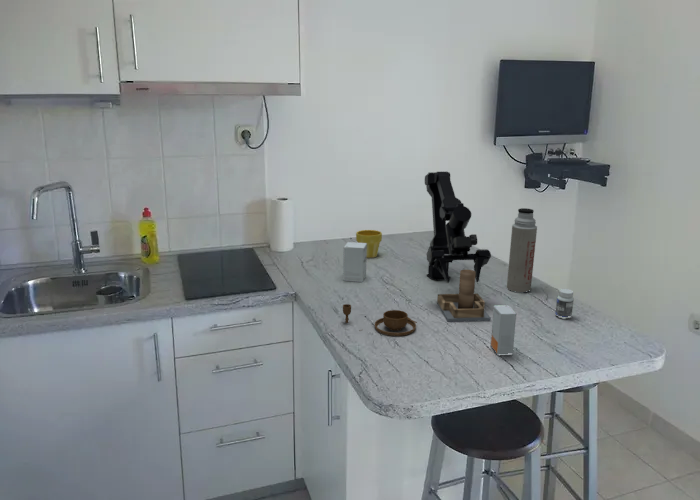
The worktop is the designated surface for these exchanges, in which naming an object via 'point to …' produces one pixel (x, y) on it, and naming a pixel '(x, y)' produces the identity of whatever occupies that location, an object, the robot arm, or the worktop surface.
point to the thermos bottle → (522, 251)
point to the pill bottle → (564, 303)
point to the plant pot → (370, 241)
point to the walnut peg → (466, 289)
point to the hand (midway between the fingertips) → (463, 282)
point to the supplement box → (354, 261)
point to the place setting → (389, 321)
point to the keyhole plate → (453, 314)
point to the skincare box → (503, 329)
